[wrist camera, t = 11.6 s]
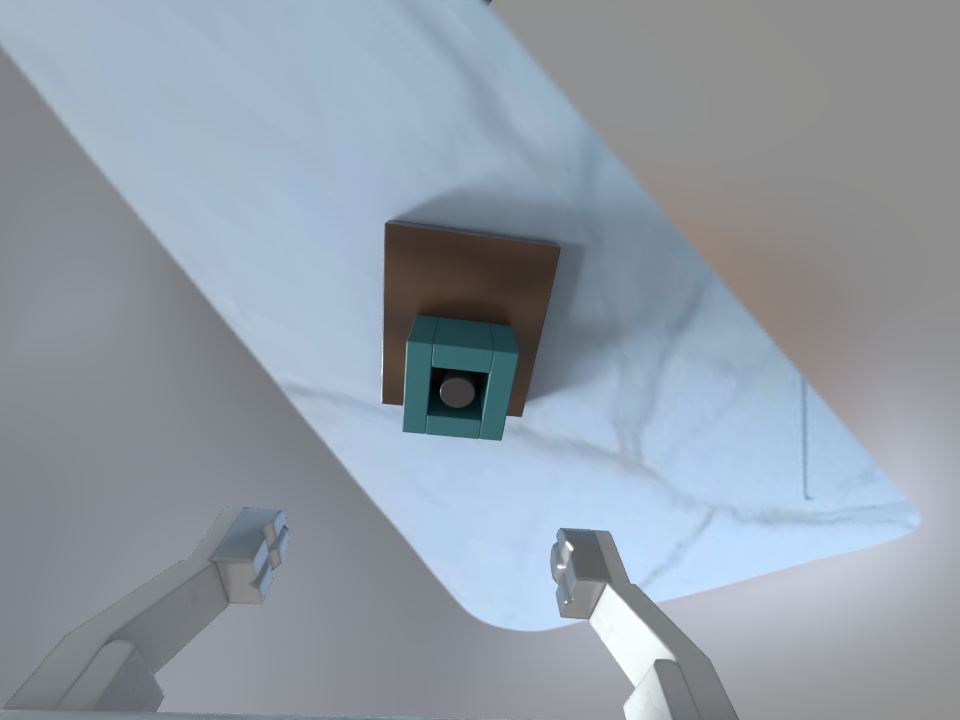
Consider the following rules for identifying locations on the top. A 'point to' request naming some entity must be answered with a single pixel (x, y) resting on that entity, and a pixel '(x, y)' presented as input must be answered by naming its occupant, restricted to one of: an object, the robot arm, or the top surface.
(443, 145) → the top surface
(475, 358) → the teal hollow square block
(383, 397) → the base pad
